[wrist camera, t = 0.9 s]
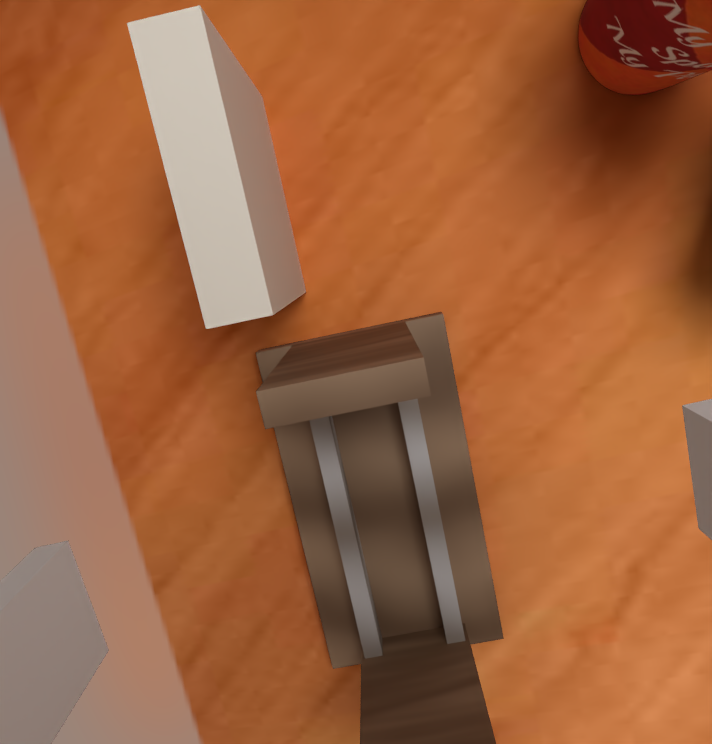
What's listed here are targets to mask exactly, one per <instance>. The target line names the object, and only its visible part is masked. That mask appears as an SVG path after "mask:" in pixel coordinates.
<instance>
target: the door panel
mask: <svg viewBox="0 0 712 744" xmlns="http://www.w3.org/2000/svg"><path fill="white" fill-rule="evenodd" d="M127 25H128V29H129V32H130V36H131V40H132V44H133V48H134V52H135V56H136V60H137V63H138V67H139V71H140V75H141V79H142V83H143V87H144V91H145V95H146V98H147V102H148V106H149V110H150V114H151V118H152V122H153V126H154V129H155V133H156V137H157V141H158V145H159V149H160V153H161V157H162V160H163V164H164V168H165V172H166V176H167V180H168V184H169V188H170V191H171V195H172V199H173V203H174V207H175V211H176V215H177V219H178V222H179V226H180V230H181V234H182V238H183V242H184V246H185V250H186V254H187V257H188V261H189V265H190V269H191V273H192V277H193V281H194V285H195V288H196V292H197V296H198V300H199V304H200V308H201V312H202V316H203V319H204V323H205V327H206V329H210V328H214V327H219V326H224V325H229V324H233V323H238V322H243V321H248V320H252V319H257V318H262V317H266V316H271V315H274V314H275V313H277V312H278V311H280V310H281V309H283V308H284V307H286V306H287V305H288V304H290V303H291V302H293V301H294V300H296V299H297V298H299V297H300V296H301V295H303V294H304V293H306V289H305V284H304V280H303V276H302V271H301V267H300V262H299V258H298V253H297V249H296V245H295V240H294V236H293V231H292V227H291V222H290V218H289V213H288V209H287V205H286V200H285V196H284V191H283V187H282V182H281V178H280V173H279V169H278V165H277V160H276V156H275V151H274V147H273V142H272V138H271V134H270V129H269V125H268V120H267V116H266V111H265V107H264V102H263V98H262V96H261V94H260V93H259V91H258V90H257V88H256V87H255V85H254V84H253V82H252V81H251V79H250V78H249V76H248V75H247V74H246V72H245V71H244V69H243V68H242V66H241V65H240V63H239V62H238V60H237V59H236V57H235V56H234V55H233V53H232V52H231V50H230V49H229V47H228V46H227V44H226V43H225V41H224V40H223V38H222V37H221V36H220V34H219V33H218V31H217V30H216V28H215V27H214V25H213V24H212V22H211V21H210V19H209V18H208V17H207V15H206V14H205V12H204V11H203V9H202V8H201V6H200V5H199V6H195V7H191V8H187V9H183V10H179V11H174V12H170V13H166V14H162V15H158V16H154V17H150V18H145V19H141V20H137V21H133V22H129V23H127Z"/></svg>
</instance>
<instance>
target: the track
mask: <svg viewBox="0 0 712 744" xmlns="http://www.w3.org/2000/svg"><path fill="white" fill-rule="evenodd" d="M256 356H257V361H258V365H259V369H260V373H261V377H262V381H263V383H262V385H261V386H260V387H259V388H258V390H257V391H256V394H257V398H258V402H259V406H260V410H261V414H262V418H263V422H264V426H265V429H268V428H273V427H274V430H275V434H276V438H277V442H278V446H279V450H280V455H281V459H282V463H283V467H284V471H285V475H286V479H287V483H288V487H289V491H290V495H291V500H292V504H293V508H294V512H295V516H296V520H297V524H298V528H299V532H300V536H301V540H302V544H303V549H304V553H305V557H306V561H307V565H308V569H309V573H310V577H311V581H312V585H313V589H314V594H315V598H316V602H317V606H318V610H319V614H320V618H321V622H322V626H323V630H324V634H325V638H326V643H327V647H328V651H329V655H330V659H331V663H332V667H333V669H335V668H341V667H346V666H352V665H358V664H361V717H360V744H496V742H495V738H494V734H493V730H492V726H491V722H490V718H489V715H488V711H487V707H486V703H485V699H484V695H483V692H482V688H481V684H480V680H479V676H478V672H477V668H476V665H475V661H474V657H473V653H472V649H471V645H470V644H476V643H482V642H487V641H493V640H498V639H504V638H503V633H502V628H501V622H500V617H499V612H498V606H497V601H496V595H495V590H494V585H493V579H492V574H491V569H490V563H489V558H488V552H487V547H486V542H485V536H484V531H483V526H482V520H481V515H480V509H479V504H478V499H477V493H476V488H475V483H474V477H473V472H472V466H471V461H470V456H469V450H468V445H467V440H466V434H465V429H464V423H463V418H462V413H461V407H460V402H459V397H458V391H457V386H456V380H455V375H454V370H453V364H452V359H451V354H450V348H449V343H448V337H447V332H446V327H445V321H444V316H443V313H442V312H438V313H433V314H429V315H424V316H419V317H414V318H409V319H405V320H400V321H395V322H390V323H385V324H381V325H376V326H371V327H366V328H361V329H357V330H352V331H347V332H342V333H337V334H333V335H328V336H323V337H318V338H313V339H309V340H304V341H299V342H294V343H289V344H285V345H280V346H275V347H270V348H266V349H261V350H258V351H257V352H256Z"/></svg>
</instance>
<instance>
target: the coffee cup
mask: <svg viewBox="0 0 712 744" xmlns="http://www.w3.org/2000/svg"><path fill="white" fill-rule="evenodd" d="M578 43H579V49H580V53H581V57H582V59H583V62H584V64H585V66H586V68H587V69H588V71H589V72H590V74H591V75H592V76H593V77H594V78H595V79H596V80H597V81H598V82H599V83H600V84H601V85H603V86H604V87H606V88H608V89H610V90H612V91H614V92H617V93H621V94H627V95H641V94H647V93H651V92H655V91H658V90H661V89H664V88H667V87H670V86H672V85H675V84H678V83H680V82H683V81H685V80H688V79H690V78H693V77H695V76H698V75H700V74H703V73H705V72H708V71H710V70H712V0H587V2H586V4H585V6H584V9H583V11H582V14H581V18H580V22H579V29H578Z"/></svg>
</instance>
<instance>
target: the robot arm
mask: <svg viewBox="0 0 712 744" xmlns="http://www.w3.org/2000/svg"><path fill="white" fill-rule="evenodd" d="M682 407H683V415H684V422H685V430H686V437H687V445H688V452H689V460H690V467H691V475H692V482H693V490H694V497H695V505H696V512H697V520H698V527H699V529H700V530H701V531H702V532H703V533H704V534H706V535H707V536H708V537H709V538H710V539H711V540H712V399H709V400H705V401H700V402H696V403H691V404H686V405H682ZM108 650H109V649H108V647H107V644H106V642H105V639H104V636H103V633H102V630H101V628H100V625H99V623H98V620H97V617H96V614H95V612H94V609H93V606H92V604H91V601H90V598H89V596H88V593H87V590H86V587H85V585H84V582H83V579H82V577H81V574H80V571H79V568H78V566H77V563H76V560H75V558H74V555H73V552H72V550H71V547H70V544H69V542H68V541H64V542H60V543H55V544H50V545H46V546H42V547H37V548H34V549H33V550H32V551H31V552H30V553H29V554H28V555H27V556H26V557H25V558H24V559H23V560H22V561H21V562H20V563H19V564H18V565H16V566H15V567H14V568H13V569H12V570H11V571H10V572H9V573H8V574H7V575H6V576H5V577H4V578H3V579H2V580H1V581H0V744H52V742H53V740H54V739H55V737H56V735H57V734H58V732H59V730H60V729H61V727H62V726H63V724H64V722H65V720H66V719H67V717H68V716H69V714H70V713H71V711H72V709H73V708H74V706H75V704H76V703H77V701H78V700H79V698H80V696H81V695H82V693H83V691H84V690H85V688H86V687H87V685H88V683H89V682H90V680H91V678H92V677H93V675H94V673H95V672H96V670H97V669H98V667H99V665H100V664H101V662H102V660H103V659H104V657H105V656H106V654H107V652H108Z"/></svg>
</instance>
